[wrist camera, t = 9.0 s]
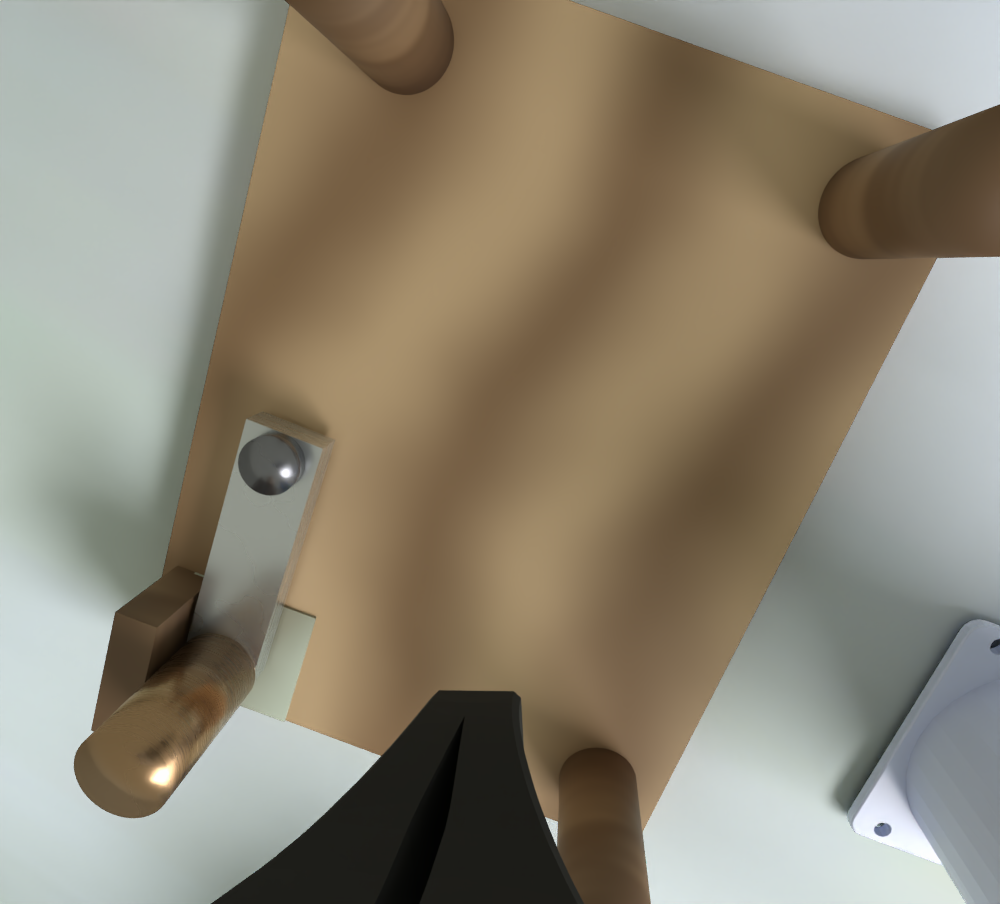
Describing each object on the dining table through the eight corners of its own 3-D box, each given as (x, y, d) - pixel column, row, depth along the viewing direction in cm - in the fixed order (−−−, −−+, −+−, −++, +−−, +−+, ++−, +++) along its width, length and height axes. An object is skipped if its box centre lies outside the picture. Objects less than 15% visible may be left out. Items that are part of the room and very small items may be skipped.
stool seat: (964, 158, 17) (1208, 92, 11) (630, 820, 24) (651, 1044, 17) (328, -69, 18) (174, -276, 11) (163, 647, 24) (-1, 797, 17)
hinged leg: (259, 410, 19) (141, 463, 14) (338, 440, 19) (249, 506, 14) (188, 668, 22) (65, 795, 17) (258, 696, 22) (158, 832, 17)
